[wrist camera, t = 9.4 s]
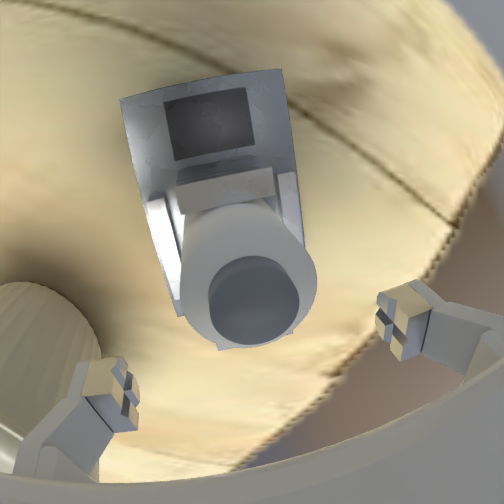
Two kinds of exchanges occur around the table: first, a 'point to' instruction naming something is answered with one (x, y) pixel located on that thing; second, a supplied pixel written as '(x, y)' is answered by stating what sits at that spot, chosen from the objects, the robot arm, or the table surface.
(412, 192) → the table surface
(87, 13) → the table surface
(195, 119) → the grey holder stand
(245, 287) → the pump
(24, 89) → the table surface
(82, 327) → the canister
